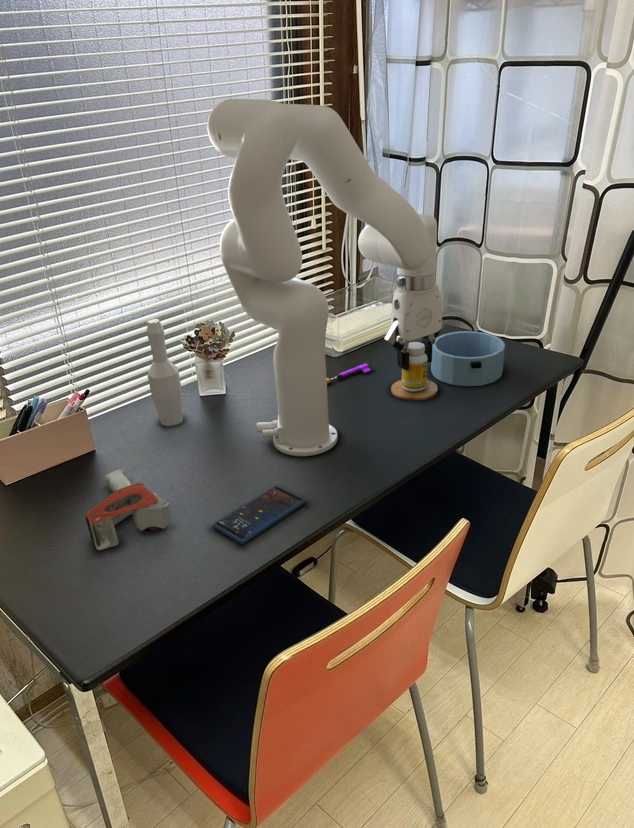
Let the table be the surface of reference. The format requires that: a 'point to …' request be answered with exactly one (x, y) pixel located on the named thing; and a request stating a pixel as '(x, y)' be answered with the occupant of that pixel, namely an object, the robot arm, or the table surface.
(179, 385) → the faceted bottle
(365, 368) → the pneumatic cylinder
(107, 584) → the table surface
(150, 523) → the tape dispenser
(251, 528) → the smartphone
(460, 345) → the bowl
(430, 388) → the coaster
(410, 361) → the supplement bottle
